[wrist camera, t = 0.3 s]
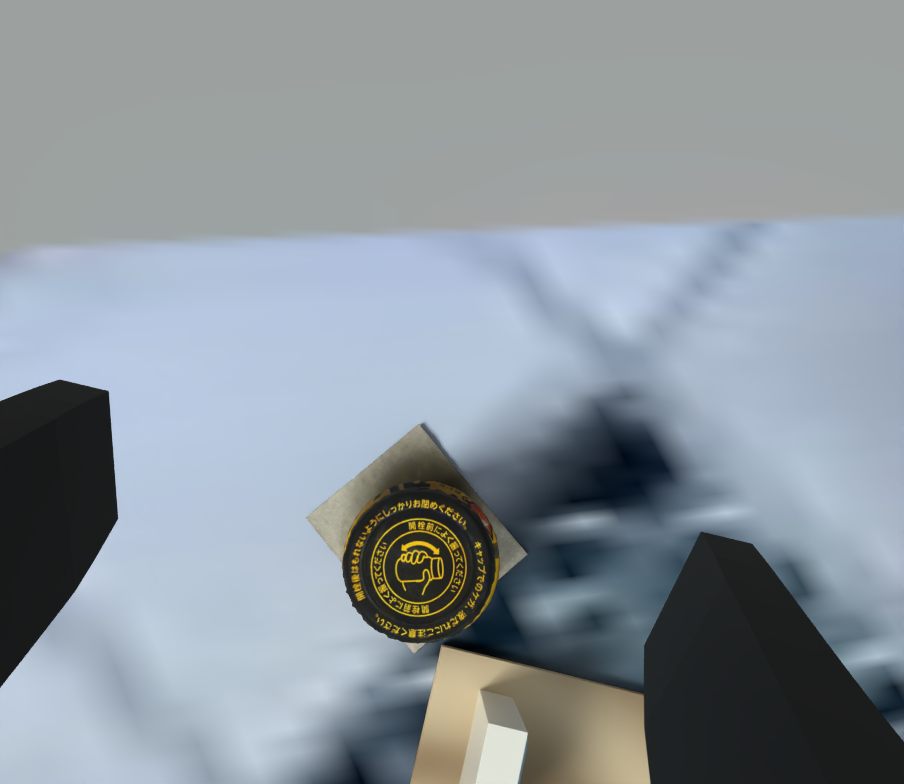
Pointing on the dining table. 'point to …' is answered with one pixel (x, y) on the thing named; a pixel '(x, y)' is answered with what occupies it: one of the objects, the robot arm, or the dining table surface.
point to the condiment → (416, 543)
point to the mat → (534, 723)
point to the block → (495, 742)
